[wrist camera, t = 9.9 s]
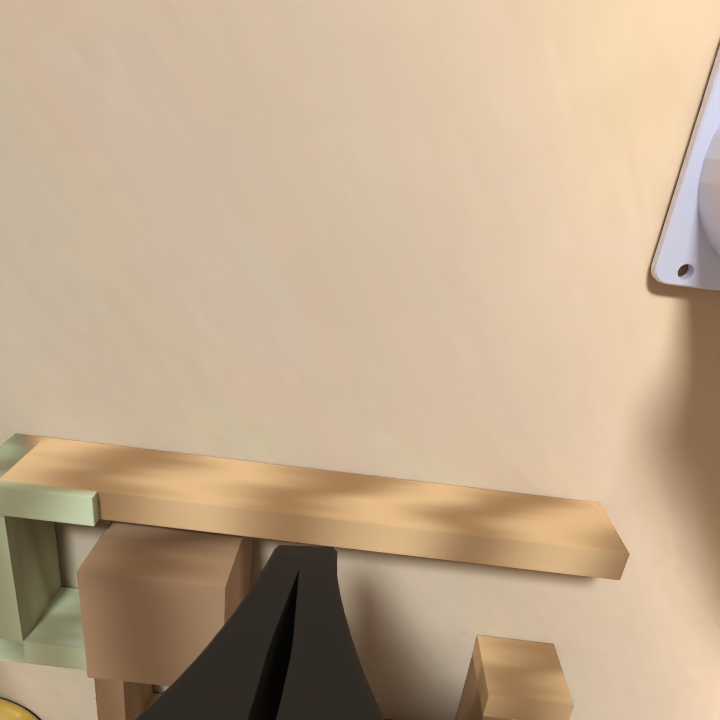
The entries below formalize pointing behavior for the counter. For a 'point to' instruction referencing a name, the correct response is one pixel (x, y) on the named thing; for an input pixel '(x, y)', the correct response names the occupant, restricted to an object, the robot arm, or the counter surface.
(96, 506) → the trap lane
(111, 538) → the walnut block
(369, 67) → the counter surface
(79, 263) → the counter surface
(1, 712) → the plant pot
